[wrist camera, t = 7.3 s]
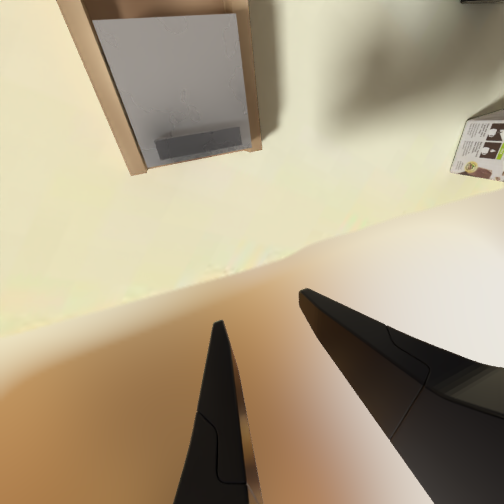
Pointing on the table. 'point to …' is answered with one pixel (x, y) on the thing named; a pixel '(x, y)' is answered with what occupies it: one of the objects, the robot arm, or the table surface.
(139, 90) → the gray slider block
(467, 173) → the coffee box
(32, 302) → the table surface
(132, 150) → the frame
